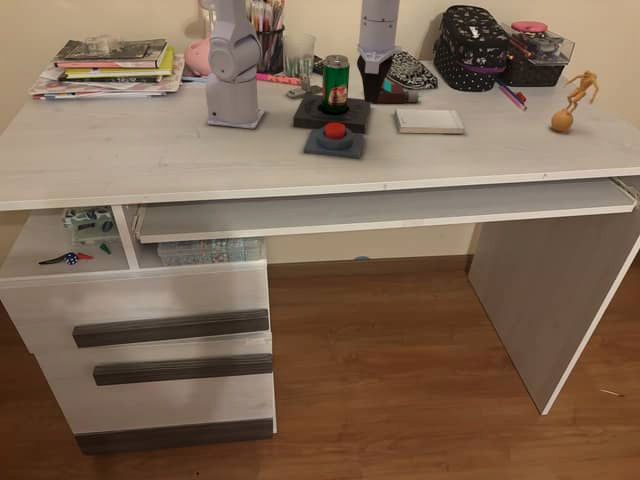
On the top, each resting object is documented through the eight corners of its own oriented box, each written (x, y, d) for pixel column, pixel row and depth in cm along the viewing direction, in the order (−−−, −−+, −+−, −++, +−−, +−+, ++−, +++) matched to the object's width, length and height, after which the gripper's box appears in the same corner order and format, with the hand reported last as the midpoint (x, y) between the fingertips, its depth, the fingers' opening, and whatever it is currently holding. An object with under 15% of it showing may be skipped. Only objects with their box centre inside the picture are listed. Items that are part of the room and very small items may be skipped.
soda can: (328, 124, 101) (331, 64, 94) (317, 114, 105) (318, 55, 97) (350, 120, 103) (355, 60, 96) (338, 110, 107) (341, 52, 99)
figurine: (538, 122, 105) (556, 63, 98) (563, 119, 106) (583, 61, 99) (563, 140, 99) (584, 79, 91) (589, 137, 100) (613, 77, 93)
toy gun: (422, 104, 110) (426, 83, 107) (367, 105, 109) (369, 82, 106) (413, 87, 118) (416, 66, 115) (361, 87, 117) (363, 66, 114)
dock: (293, 127, 100) (293, 117, 99) (305, 102, 110) (305, 93, 108) (364, 134, 98) (365, 124, 97) (370, 108, 108) (371, 99, 107)
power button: (323, 139, 92) (323, 130, 91) (326, 130, 95) (327, 121, 94) (343, 141, 92) (343, 132, 90) (345, 132, 94) (346, 123, 93)
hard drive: (400, 126, 98) (464, 126, 99) (394, 108, 105) (455, 109, 105) (399, 133, 99) (463, 134, 100) (394, 115, 106) (453, 116, 106)
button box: (303, 153, 92) (303, 140, 90) (311, 133, 98) (311, 121, 97) (358, 159, 91) (360, 146, 89) (363, 138, 97) (364, 126, 95)
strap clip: (293, 100, 110) (293, 80, 108) (285, 95, 112) (284, 76, 110) (323, 91, 115) (324, 72, 112) (315, 86, 117) (316, 68, 114)
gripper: (403, 32, 73) (392, 120, 82) (406, 7, 85) (396, 86, 93) (354, 28, 74) (348, 116, 83) (364, 4, 86) (358, 83, 94)
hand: (371, 100), depth 88 cm, fingers closed
